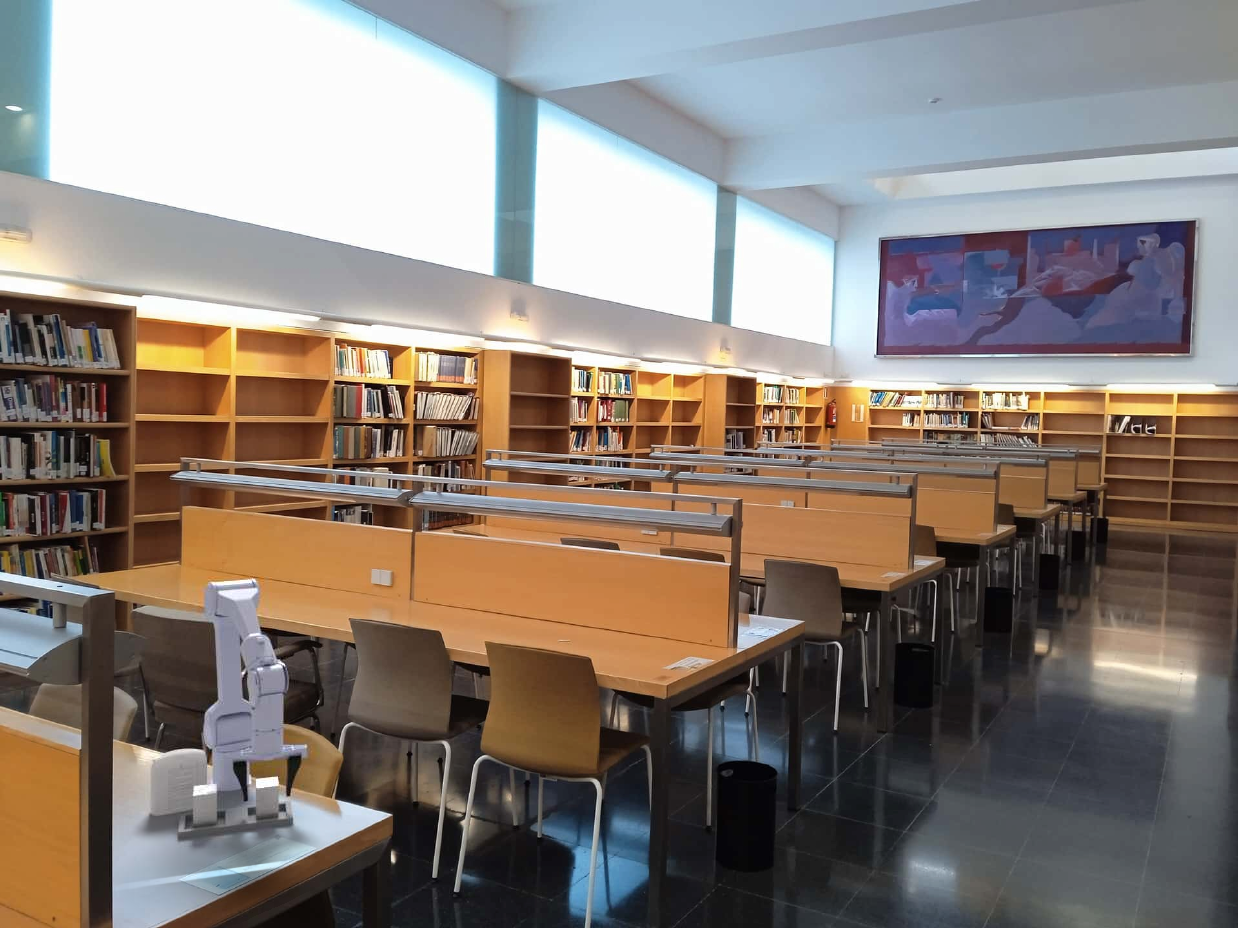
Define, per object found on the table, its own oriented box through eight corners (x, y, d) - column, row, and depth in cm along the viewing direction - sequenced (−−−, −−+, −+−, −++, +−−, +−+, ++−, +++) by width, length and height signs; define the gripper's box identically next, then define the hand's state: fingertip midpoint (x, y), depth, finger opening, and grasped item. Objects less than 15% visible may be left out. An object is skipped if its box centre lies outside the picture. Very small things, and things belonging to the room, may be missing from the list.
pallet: (180, 824, 186) (180, 813, 186) (290, 810, 193) (290, 800, 193) (177, 842, 177) (177, 832, 177) (293, 827, 185) (293, 817, 185)
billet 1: (194, 822, 185) (194, 785, 184) (216, 819, 186) (216, 783, 186) (193, 832, 180) (193, 795, 180) (216, 829, 182) (216, 792, 181)
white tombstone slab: (204, 803, 196) (204, 742, 196) (209, 810, 193) (209, 748, 192) (148, 813, 190) (148, 751, 190) (152, 821, 187) (151, 757, 186)
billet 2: (255, 814, 189) (255, 778, 189) (277, 811, 190) (277, 776, 190) (256, 824, 184) (256, 787, 184) (278, 821, 186) (278, 785, 185)
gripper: (226, 737, 180) (226, 809, 181) (308, 729, 186) (308, 799, 186) (226, 726, 187) (226, 795, 187) (305, 719, 192) (305, 786, 193)
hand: (267, 796), depth 187 cm, fingers open, 7 cm apart
